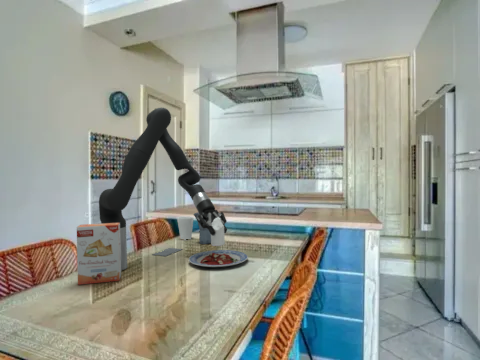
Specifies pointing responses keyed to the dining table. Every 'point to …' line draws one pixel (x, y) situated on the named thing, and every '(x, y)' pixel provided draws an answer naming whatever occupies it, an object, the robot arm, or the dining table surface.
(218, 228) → the white peaked cylinder
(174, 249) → the mat
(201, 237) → the moka pot
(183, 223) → the foam cup
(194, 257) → the ceramic plate
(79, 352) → the dining table surface
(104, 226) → the cracker box
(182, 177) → the robot arm
